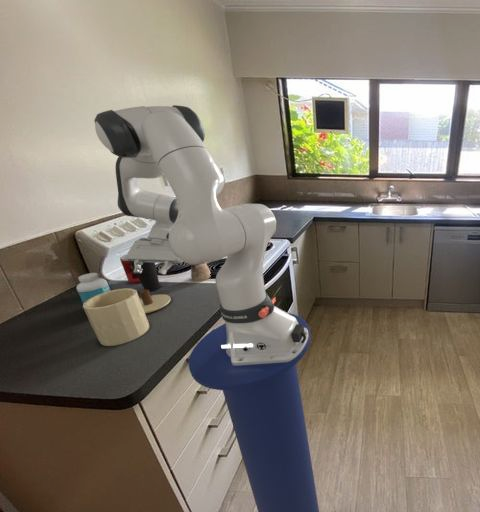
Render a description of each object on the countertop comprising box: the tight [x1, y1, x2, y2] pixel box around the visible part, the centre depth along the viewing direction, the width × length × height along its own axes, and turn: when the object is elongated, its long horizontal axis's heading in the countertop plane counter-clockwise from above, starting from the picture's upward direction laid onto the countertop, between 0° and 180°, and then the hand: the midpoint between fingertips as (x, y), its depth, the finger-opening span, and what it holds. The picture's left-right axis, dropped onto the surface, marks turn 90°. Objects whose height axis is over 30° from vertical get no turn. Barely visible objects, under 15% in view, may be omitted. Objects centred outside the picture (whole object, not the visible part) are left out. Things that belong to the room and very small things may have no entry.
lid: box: [138, 289, 172, 314], centre depth 101 cm, size 13×13×6 cm
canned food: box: [119, 254, 141, 284], centre depth 120 cm, size 8×8×11 cm
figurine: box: [188, 263, 212, 283], centre depth 121 cm, size 7×7×12 cm
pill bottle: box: [76, 272, 112, 304], centre depth 97 cm, size 8×7×14 cm
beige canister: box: [82, 287, 150, 347], centre depth 85 cm, size 12×12×12 cm
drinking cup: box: [129, 240, 161, 293], centre depth 110 cm, size 8×8×20 cm
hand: (149, 273), depth 102 cm, fingers open, 8 cm apart
